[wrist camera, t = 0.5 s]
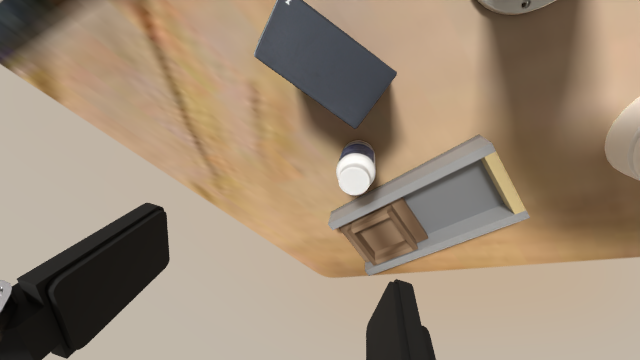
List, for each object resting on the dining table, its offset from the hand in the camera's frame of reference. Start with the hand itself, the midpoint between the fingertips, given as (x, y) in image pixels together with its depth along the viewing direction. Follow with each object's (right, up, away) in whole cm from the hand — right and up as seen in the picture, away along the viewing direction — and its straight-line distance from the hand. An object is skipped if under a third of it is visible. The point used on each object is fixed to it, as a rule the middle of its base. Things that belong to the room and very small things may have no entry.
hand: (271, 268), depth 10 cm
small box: (+5, +20, +24) cm, 32 cm away
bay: (+18, -1, +31) cm, 36 cm away
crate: (+13, -5, +32) cm, 35 cm away
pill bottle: (+8, +8, +29) cm, 31 cm away
